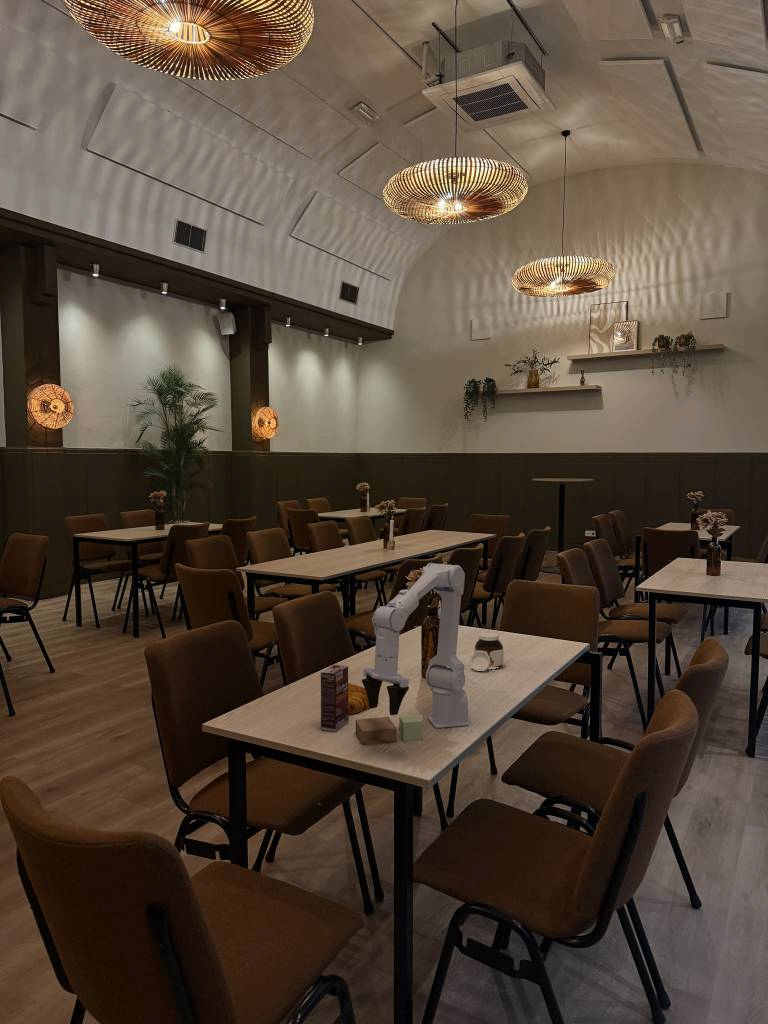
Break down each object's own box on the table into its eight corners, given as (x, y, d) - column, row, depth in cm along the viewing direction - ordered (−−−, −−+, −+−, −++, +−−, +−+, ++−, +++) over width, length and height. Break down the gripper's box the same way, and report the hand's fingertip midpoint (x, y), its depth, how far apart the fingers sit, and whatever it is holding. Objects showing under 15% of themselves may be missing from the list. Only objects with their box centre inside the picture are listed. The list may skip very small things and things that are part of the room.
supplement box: (336, 732, 192) (335, 674, 192) (320, 730, 194) (319, 672, 193) (349, 722, 200) (349, 665, 200) (334, 720, 202) (333, 664, 201)
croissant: (328, 725, 205) (328, 699, 203) (319, 701, 219) (318, 676, 218) (378, 718, 208) (378, 692, 207) (365, 695, 223) (364, 671, 221)
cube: (417, 733, 192) (417, 714, 191) (422, 740, 187) (422, 721, 186) (399, 734, 190) (399, 716, 190) (404, 741, 186) (403, 722, 185)
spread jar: (501, 664, 258) (501, 632, 257) (506, 673, 246) (506, 639, 246) (468, 664, 258) (467, 632, 257) (471, 673, 247) (471, 639, 246)
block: (388, 731, 194) (388, 716, 194) (396, 743, 185) (396, 728, 185) (355, 734, 192) (355, 719, 192) (362, 746, 183) (362, 731, 183)
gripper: (355, 651, 180) (352, 706, 180) (394, 661, 170) (391, 719, 169) (376, 650, 185) (373, 703, 185) (416, 659, 174) (412, 716, 174)
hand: (383, 711), depth 177 cm, fingers open, 7 cm apart
